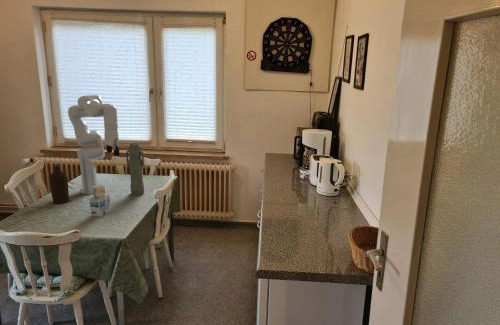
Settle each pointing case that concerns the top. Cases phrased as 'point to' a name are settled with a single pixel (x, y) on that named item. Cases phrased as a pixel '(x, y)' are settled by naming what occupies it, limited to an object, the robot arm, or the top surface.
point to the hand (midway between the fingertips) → (113, 154)
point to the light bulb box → (100, 205)
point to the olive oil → (59, 186)
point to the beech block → (99, 191)
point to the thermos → (135, 169)
